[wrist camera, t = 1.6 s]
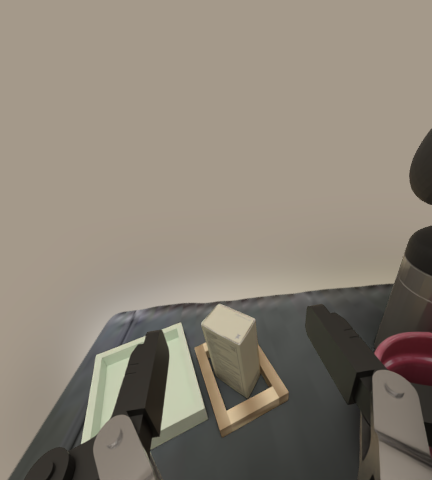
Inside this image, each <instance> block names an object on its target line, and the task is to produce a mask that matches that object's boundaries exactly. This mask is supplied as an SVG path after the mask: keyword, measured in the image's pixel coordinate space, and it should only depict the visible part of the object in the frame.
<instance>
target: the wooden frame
mask: <svg viewBox="0 0 432 480" xmlns="http://www.w3.org/2000/svg"><path fill="white" fill-rule="evenodd" d="M258 350H259V360H260V370H261V374H262V376H263V378H264V380H265V381H266V383H267V385H268V387H269V388H268V389H267V390H265V391H263V392H261V393H259V394H257V395H255V396H253V397H252V398H250V399H248V400H246V401H244V402H242V403H240V404H239V405H237V406H235V407H233V408H231V409H229V410H227V411H226V408H225V406H224V403H223V400H222V397H221V394H220V392H219V389H218V386H217V383H216V380H215V378H214V375H213V372H212V369H211V366H210V364H209V361H208V358H210V354H209V351H208V347H207V343H204V344H202V345H200V346H197V347H195V352H196V355H197V359H198V362H199V365H200V368H201V372H202V375H203V378H204V381H205V385H206V388H207V391H208V394H209V397H210V401H211V404H212V407H213V410H214V414H215V417H216V420H217V423H218V427H219V430H220V433H221V436H222V437H224V436H226V435H228V434H230V433H231V432H233V431H235V430H237V429H238V428H240V427H242V426H244V425H245V424H247V423H249V422H251V421H252V420H254V419H256V418H258V417H259V416H261V415H263V414H265V413H266V412H268V411H270V410H272V409H274V408H275V407H277V406H279V405H281V404H282V403H284V402H286V401H288V396H289V392H288V390H287V389H286V387H285V386H284V384H283V383H282V381H281V379H280V378H279V376H278V375H277V373H276V372H275V370H274V368H273V367H272V365H271V364H270V362H269V361H268V359H267V358H266V356H265V354H264V353H263V351H262V350H261V348H260V347H259V345H258Z"/></svg>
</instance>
